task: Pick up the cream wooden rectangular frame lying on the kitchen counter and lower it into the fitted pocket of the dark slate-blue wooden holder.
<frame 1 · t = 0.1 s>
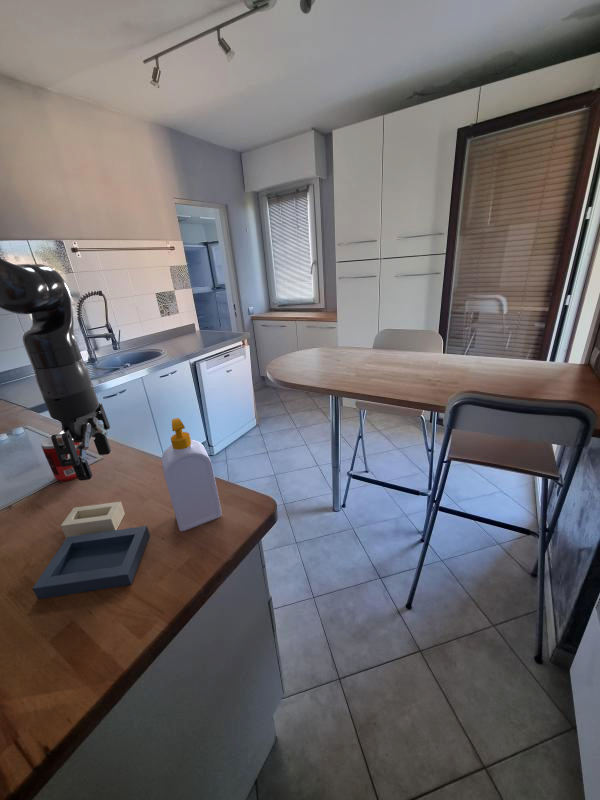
hand: (96, 465, 64), 16 cm above the counter, tool pointing down, fingers open, 8 cm apart
frame: (96, 525, 73), on the counter
canned food: (72, 473, 92), on the counter
holder: (99, 564, 63), on the counter
soap bottle: (198, 515, 74), on the counter
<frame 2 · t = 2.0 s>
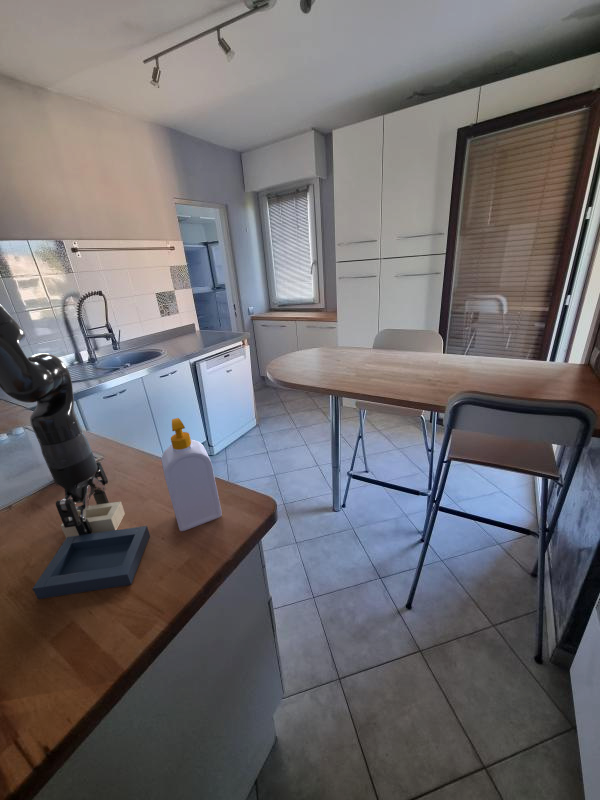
hand: (95, 519, 72), 2 cm above the counter, tool pointing down, fingers open, 8 cm apart
nothing on the counter moved.
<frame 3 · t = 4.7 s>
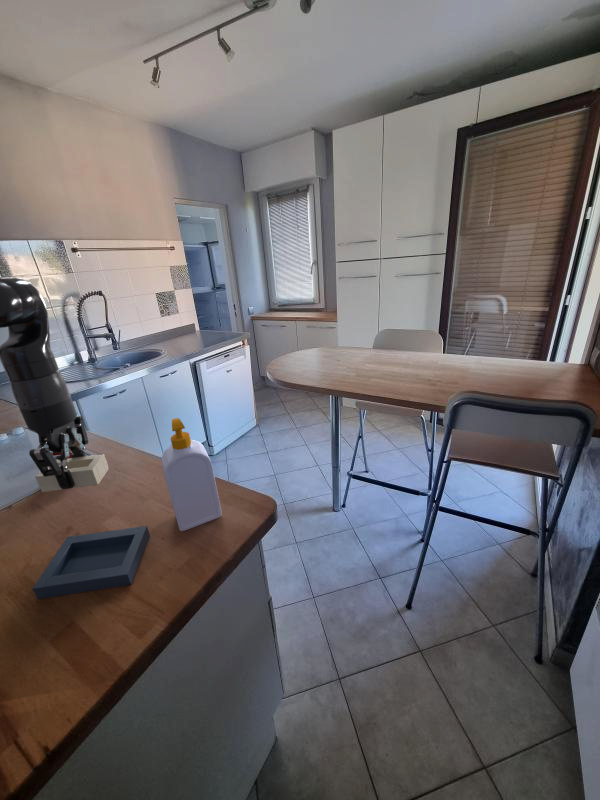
hand: (76, 477, 65), 14 cm above the counter, tool pointing down, fingers closed on frame, 5 cm apart
frame: (77, 479, 65), point 14 cm above the counter, touching gripper
everything else where it was.
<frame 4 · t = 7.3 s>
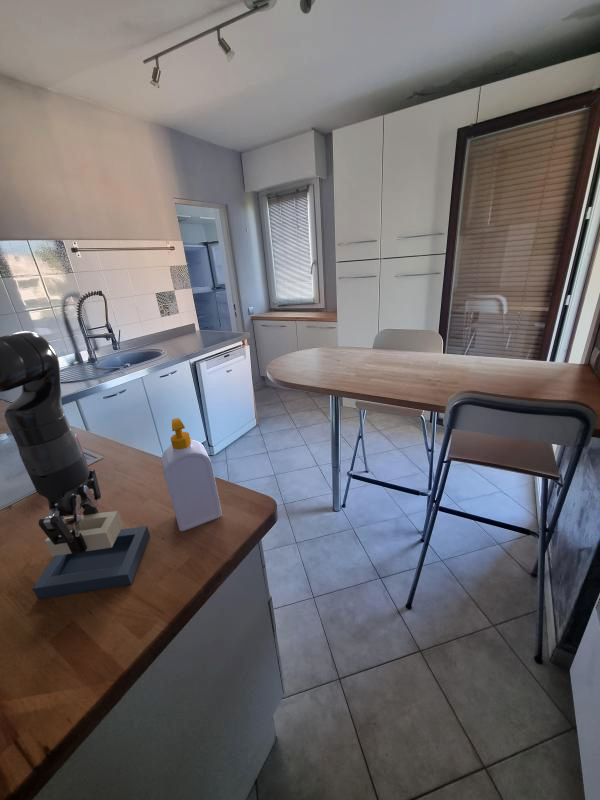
hand: (88, 537, 60), 7 cm above the counter, tool pointing down, fingers closed on frame, 5 cm apart
frame: (89, 539, 61), point 6 cm above the counter, touching gripper
everything else where it was.
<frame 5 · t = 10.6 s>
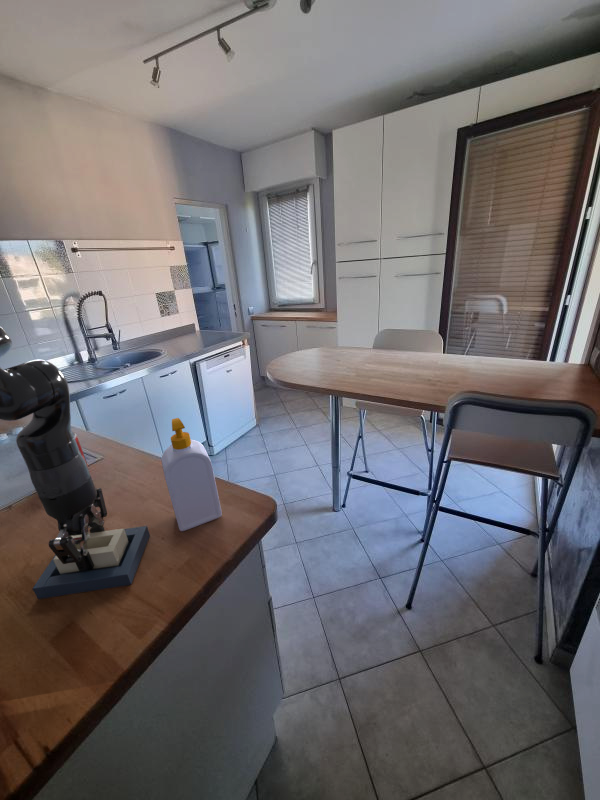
hand: (95, 555, 62), 2 cm above the counter, tool pointing down, fingers closed on frame, 5 cm apart
frame: (96, 557, 62), point 2 cm above the counter, touching gripper
everything else where it was.
when the fingers open (3 cm above the counter, at t = 12.2 s): frame drops 1 cm, resting on holder.
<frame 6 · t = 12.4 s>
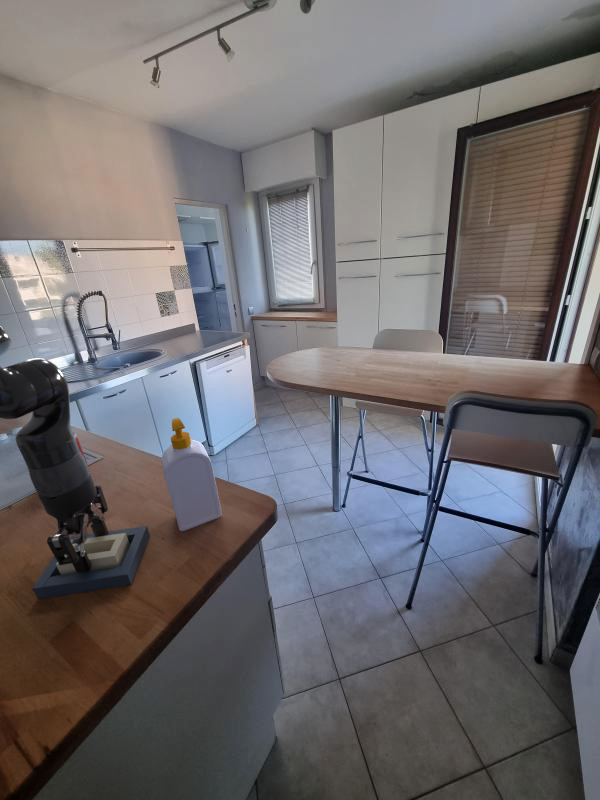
hand: (94, 552, 62), 3 cm above the counter, tool pointing down, fingers open, 7 cm apart
frame: (98, 561, 63), point 1 cm above the counter, touching holder
everything else where it was.
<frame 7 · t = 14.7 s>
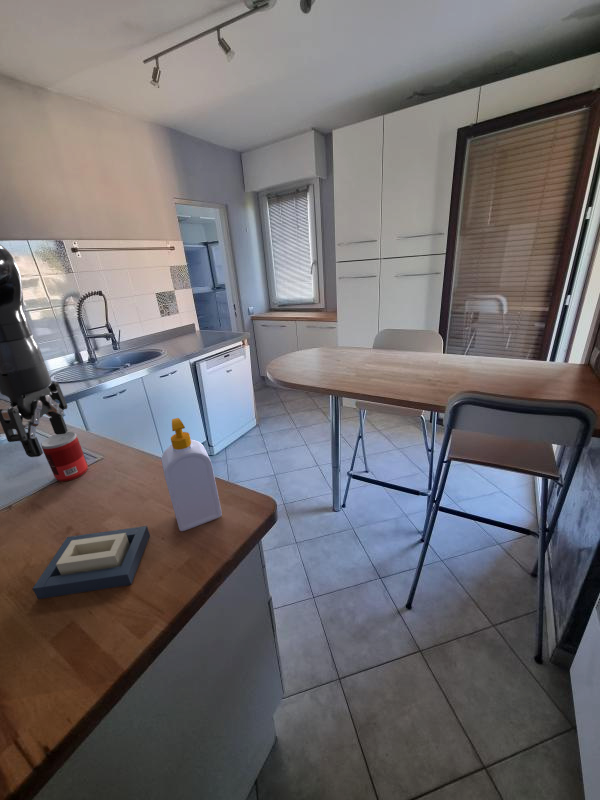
hand: (49, 444, 65), 21 cm above the counter, tool pointing down, fingers open, 8 cm apart
nothing on the counter moved.
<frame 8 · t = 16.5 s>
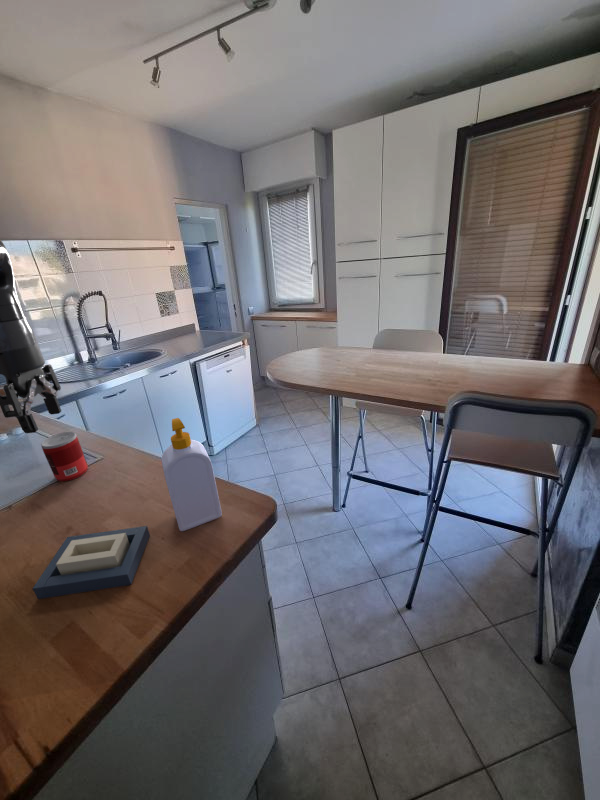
hand: (44, 422, 68), 23 cm above the counter, tool pointing down, fingers open, 8 cm apart
nothing on the counter moved.
at the end: frame 0.1 cm off-centre on the holder, point 0.6 cm above the holder's base; frame tilted 0°; the gripper is holding nothing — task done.
